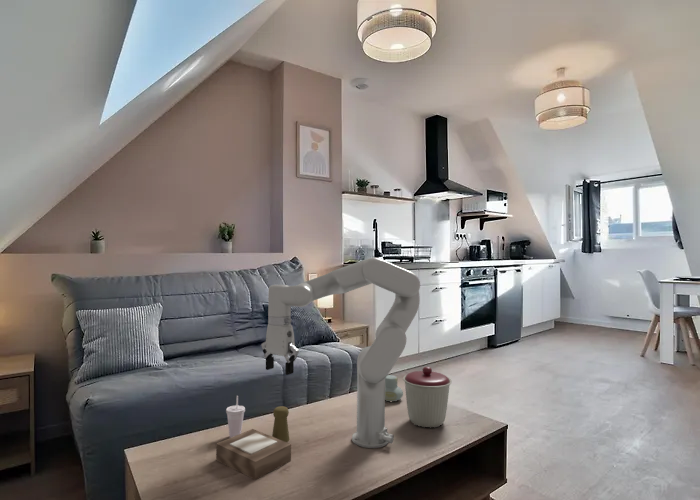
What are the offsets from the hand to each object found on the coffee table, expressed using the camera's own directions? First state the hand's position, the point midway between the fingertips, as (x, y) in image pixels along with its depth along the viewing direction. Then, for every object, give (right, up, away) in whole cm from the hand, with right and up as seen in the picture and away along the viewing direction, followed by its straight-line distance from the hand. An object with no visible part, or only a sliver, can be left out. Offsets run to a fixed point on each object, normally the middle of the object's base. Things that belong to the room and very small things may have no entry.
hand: (279, 371), depth 142 cm
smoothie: (-16, -23, +2) cm, 28 cm away
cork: (0, -23, 0) cm, 23 cm away
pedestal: (-6, -23, -15) cm, 28 cm away
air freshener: (+42, -25, +41) cm, 64 cm away
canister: (+53, -24, +16) cm, 61 cm away
